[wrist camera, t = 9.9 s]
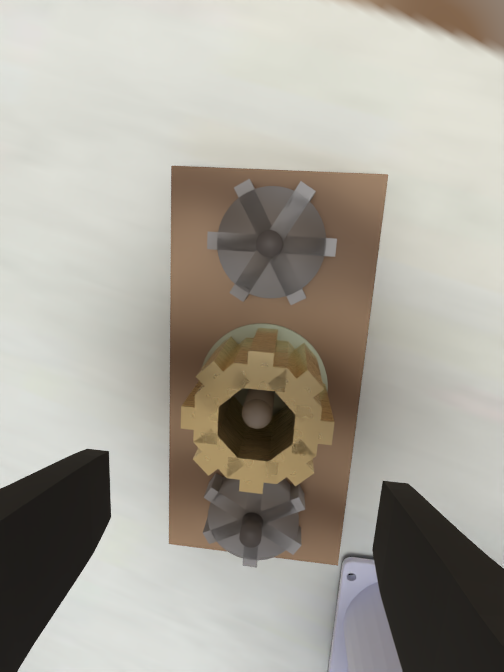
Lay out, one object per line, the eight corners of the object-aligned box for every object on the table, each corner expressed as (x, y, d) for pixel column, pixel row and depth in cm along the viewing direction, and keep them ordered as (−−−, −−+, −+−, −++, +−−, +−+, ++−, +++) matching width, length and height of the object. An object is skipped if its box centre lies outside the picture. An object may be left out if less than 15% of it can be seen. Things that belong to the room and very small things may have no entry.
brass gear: (317, 447, 18) (324, 501, 14) (202, 434, 19) (179, 483, 15) (331, 333, 17) (342, 359, 13) (207, 323, 17) (182, 344, 14)
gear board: (334, 543, 21) (347, 635, 16) (176, 524, 22) (143, 606, 17) (379, 180, 17) (417, 152, 12) (181, 172, 18) (137, 142, 13)
